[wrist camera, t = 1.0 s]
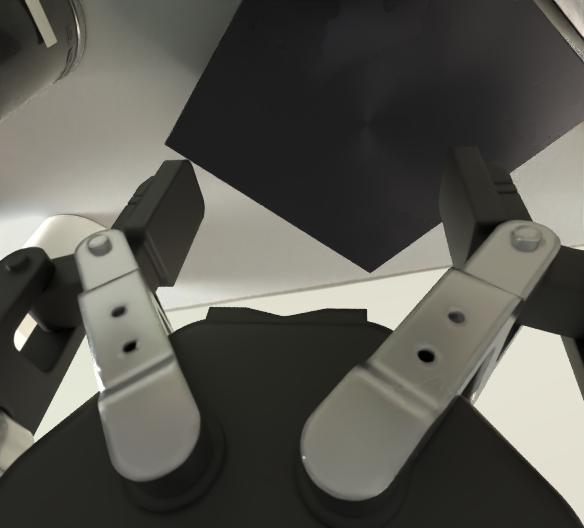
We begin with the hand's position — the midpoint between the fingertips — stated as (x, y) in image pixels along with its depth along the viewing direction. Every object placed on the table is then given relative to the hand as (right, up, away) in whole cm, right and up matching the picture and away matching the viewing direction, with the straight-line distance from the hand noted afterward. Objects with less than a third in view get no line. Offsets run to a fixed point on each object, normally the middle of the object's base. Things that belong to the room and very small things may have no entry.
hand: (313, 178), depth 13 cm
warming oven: (+4, +10, +13) cm, 17 cm away
